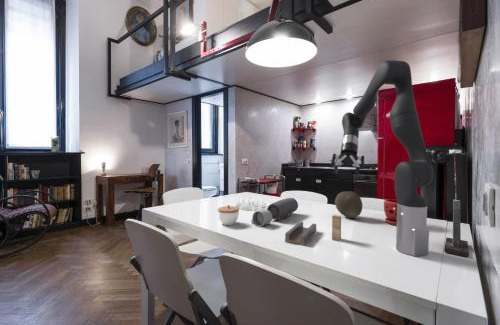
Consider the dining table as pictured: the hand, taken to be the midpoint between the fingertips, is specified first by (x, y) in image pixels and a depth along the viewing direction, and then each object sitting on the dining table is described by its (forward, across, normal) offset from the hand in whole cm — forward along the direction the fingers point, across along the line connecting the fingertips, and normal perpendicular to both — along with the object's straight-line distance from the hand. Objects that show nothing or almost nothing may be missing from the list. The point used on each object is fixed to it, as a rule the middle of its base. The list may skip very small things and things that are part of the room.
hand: (346, 174), depth 112 cm
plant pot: (+5, +26, +36) cm, 45 cm away
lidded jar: (+31, -54, +9) cm, 62 cm away
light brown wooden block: (+28, -1, +6) cm, 29 cm away
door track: (+31, -15, +4) cm, 34 cm away
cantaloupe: (+5, +2, +39) cm, 39 cm away
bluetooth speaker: (+16, -32, +28) cm, 45 cm away
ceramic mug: (+27, -38, +13) cm, 48 cm away
